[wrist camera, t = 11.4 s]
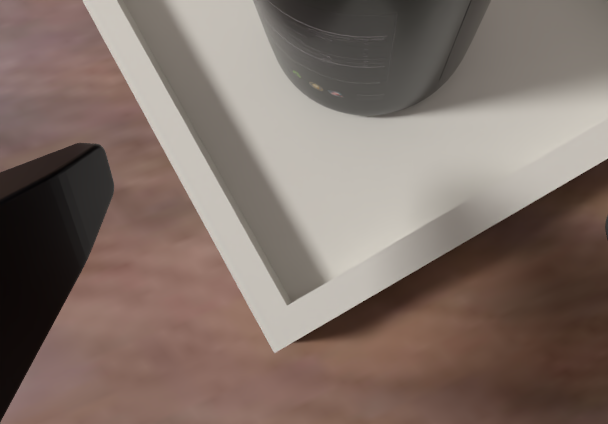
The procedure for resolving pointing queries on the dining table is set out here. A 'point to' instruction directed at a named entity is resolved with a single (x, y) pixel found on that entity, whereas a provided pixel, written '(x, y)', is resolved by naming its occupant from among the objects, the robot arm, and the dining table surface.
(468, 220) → the tray
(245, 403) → the dining table surface
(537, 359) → the dining table surface
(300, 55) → the supplement bottle
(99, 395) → the dining table surface
